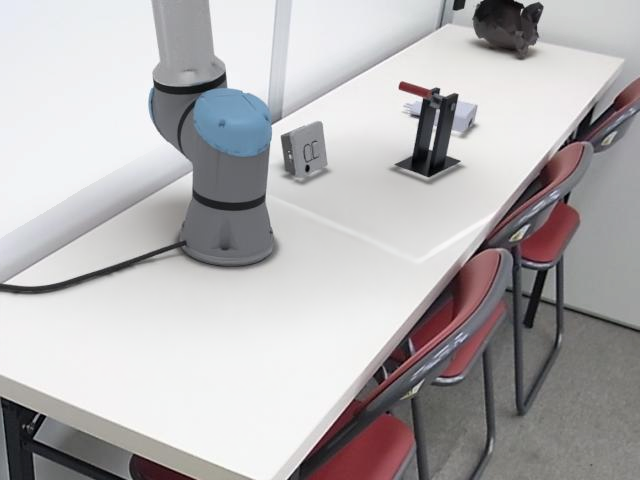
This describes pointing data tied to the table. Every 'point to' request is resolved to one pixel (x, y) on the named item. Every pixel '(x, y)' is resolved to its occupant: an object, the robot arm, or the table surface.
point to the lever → (422, 94)
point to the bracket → (436, 158)
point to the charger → (461, 119)
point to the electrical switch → (304, 149)
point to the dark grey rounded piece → (507, 23)
